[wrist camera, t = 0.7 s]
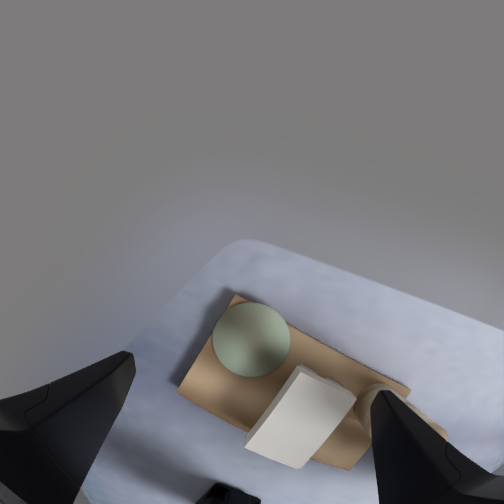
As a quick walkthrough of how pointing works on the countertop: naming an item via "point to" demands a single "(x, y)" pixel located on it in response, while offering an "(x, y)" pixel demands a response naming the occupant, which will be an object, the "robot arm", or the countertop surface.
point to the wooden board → (274, 375)
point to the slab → (300, 417)
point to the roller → (366, 399)
